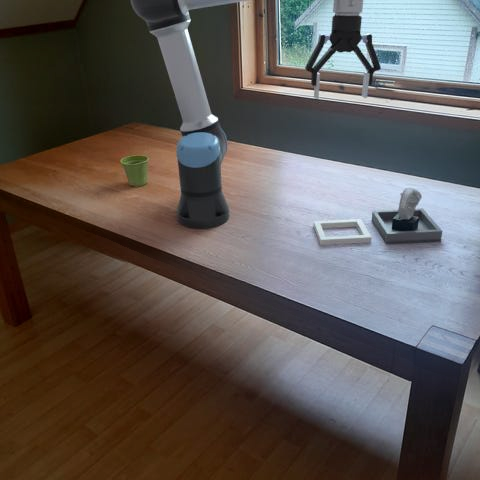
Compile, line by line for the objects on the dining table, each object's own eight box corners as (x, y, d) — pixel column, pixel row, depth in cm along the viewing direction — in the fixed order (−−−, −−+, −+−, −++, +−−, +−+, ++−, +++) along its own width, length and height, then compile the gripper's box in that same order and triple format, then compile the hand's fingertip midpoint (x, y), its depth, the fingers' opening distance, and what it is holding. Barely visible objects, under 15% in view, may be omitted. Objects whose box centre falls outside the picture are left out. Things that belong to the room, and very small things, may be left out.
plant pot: (127, 190, 170) (123, 165, 166) (121, 181, 178) (117, 157, 174) (154, 185, 174) (152, 161, 170) (147, 177, 181) (144, 153, 177)
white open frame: (320, 245, 132) (320, 239, 132) (313, 226, 142) (313, 221, 141) (371, 242, 132) (371, 237, 132) (360, 223, 142) (360, 218, 142)
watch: (420, 224, 139) (425, 186, 133) (409, 236, 133) (414, 197, 128) (399, 220, 141) (404, 182, 136) (388, 231, 136) (393, 192, 131)
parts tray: (386, 244, 131) (387, 233, 130) (371, 220, 144) (372, 211, 142) (440, 241, 131) (442, 231, 130) (421, 218, 144) (422, 208, 143)
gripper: (302, 15, 130) (298, 100, 139) (399, 14, 131) (388, 99, 141) (297, 13, 136) (293, 95, 146) (389, 12, 138) (380, 93, 148)
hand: (340, 97), depth 143 cm, fingers open, 13 cm apart
